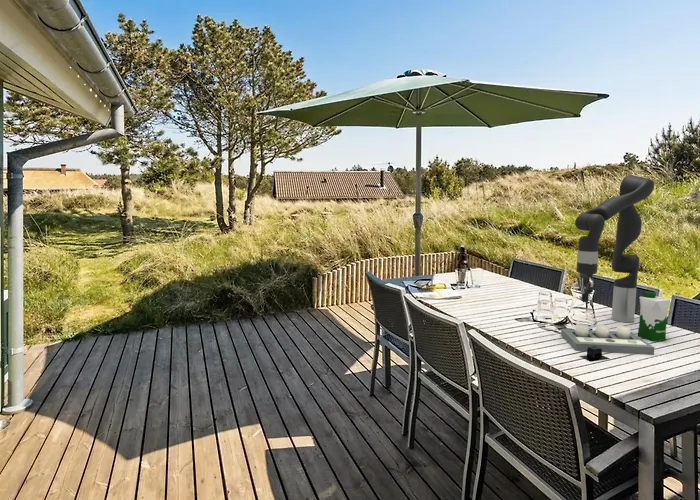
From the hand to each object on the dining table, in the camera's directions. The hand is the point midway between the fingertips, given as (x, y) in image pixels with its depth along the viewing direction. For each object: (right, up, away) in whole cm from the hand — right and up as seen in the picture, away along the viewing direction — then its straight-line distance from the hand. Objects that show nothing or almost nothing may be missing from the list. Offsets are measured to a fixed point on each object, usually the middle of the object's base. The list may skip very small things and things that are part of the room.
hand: (584, 301), depth 165 cm
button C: (0, -15, +2) cm, 16 cm away
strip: (+6, -15, -6) cm, 18 cm away
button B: (+8, -15, +1) cm, 17 cm away
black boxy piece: (-5, -20, -14) cm, 25 cm away
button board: (+7, -18, -1) cm, 19 cm away
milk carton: (+32, -17, +5) cm, 37 cm away
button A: (+16, -16, -1) cm, 22 cm away
